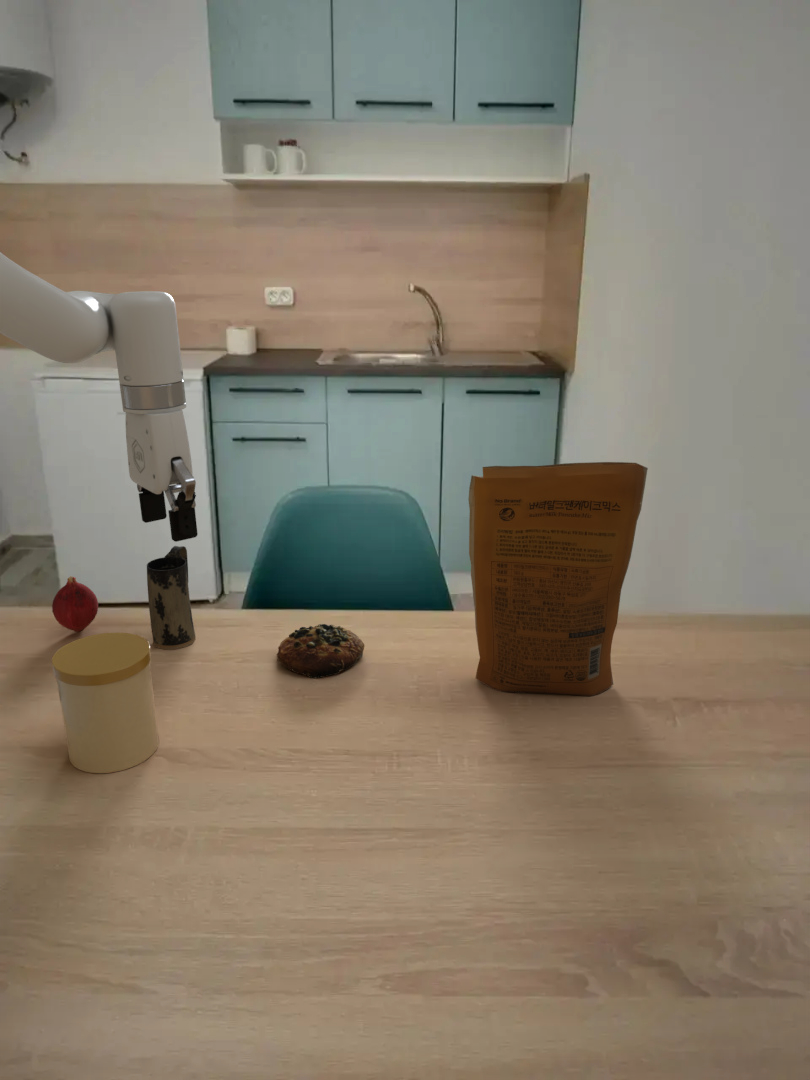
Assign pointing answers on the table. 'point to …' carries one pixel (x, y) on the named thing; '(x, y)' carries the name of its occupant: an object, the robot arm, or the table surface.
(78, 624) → the onion
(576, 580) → the pancake mix bag
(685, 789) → the table surface
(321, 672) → the bread roll
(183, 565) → the mug
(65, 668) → the jar
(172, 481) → the robot arm
